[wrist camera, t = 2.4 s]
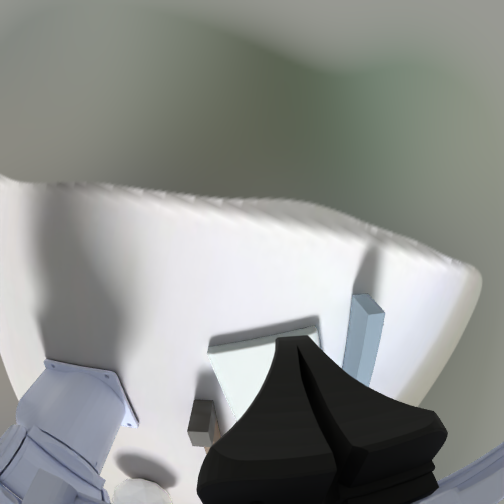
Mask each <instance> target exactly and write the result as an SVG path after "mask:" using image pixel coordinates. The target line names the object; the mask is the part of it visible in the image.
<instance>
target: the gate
mask: <svg viewBox="0 0 504 504" xmlns="http://www.w3.org/2000/svg"><path fill="white" fill-rule="evenodd" d="M384 317H385V312H384V311H383V310H382V308H381V307H380V306H379V305H378V304H377V303H376V302H375V301H374V300H373V299H372V298H371V296H370V295H369V294H358V295H353V296H352V306H351V314H350V323H349V330H348V337H347V344H346V351H345V357H344V363H343V370H344V371H345V372H347V373H348V374H349V375H350V376H352V377H353V378H355V379H356V380H358V381H359V382H361V383H363V384H364V385H366V386H367V387H369V384H370V380H371V376H372V372H373V368H374V364H375V360H376V356H377V352H378V347H379V343H380V338H381V333H382V328H383V322H384Z"/></svg>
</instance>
